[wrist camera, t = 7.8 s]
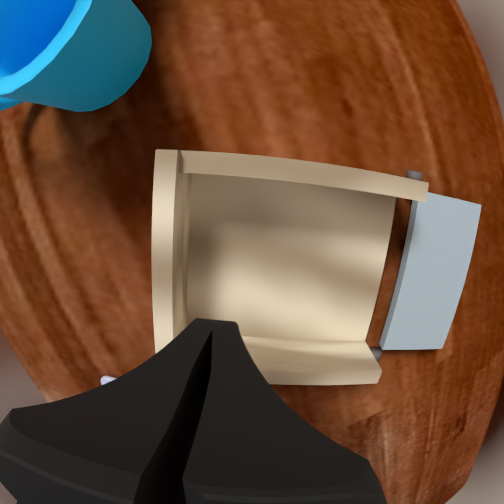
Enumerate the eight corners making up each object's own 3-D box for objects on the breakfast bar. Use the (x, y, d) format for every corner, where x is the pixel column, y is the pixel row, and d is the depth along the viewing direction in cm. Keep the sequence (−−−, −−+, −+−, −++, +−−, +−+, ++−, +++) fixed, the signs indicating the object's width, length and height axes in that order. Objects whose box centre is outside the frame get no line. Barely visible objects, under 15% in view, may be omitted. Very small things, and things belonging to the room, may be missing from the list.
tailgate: (379, 343, 20) (437, 343, 20) (382, 349, 20) (442, 348, 19) (413, 189, 17) (474, 203, 17) (419, 190, 16) (481, 205, 16)
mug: (137, -13, 14) (90, -75, 6) (167, 76, 16) (114, 26, 8) (7, 71, 15) (-64, 56, 7) (24, 158, 17) (-58, 168, 9)
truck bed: (374, 351, 21) (398, 393, 16) (175, 341, 21) (158, 386, 16) (413, 172, 18) (458, 178, 13) (181, 142, 17) (156, 136, 12)
